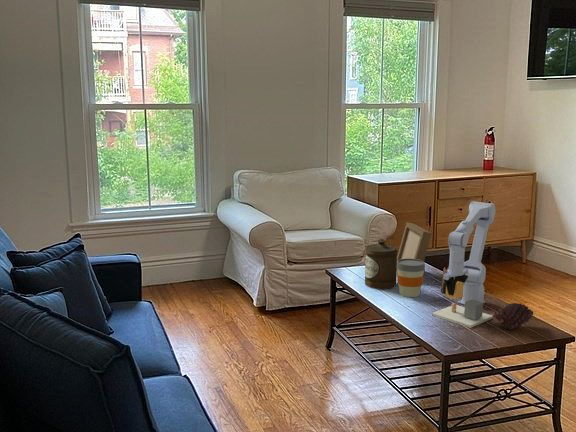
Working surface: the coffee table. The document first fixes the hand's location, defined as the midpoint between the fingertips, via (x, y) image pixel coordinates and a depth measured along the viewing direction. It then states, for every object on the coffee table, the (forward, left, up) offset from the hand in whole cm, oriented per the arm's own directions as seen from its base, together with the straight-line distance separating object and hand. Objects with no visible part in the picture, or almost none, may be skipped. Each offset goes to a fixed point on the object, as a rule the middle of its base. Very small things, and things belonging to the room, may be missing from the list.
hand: (454, 293), depth 249 cm
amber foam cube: (0, 0, -1) cm, 1 cm away
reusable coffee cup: (-7, -28, -9) cm, 30 cm away
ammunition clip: (-24, -17, -9) cm, 31 cm away
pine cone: (-5, +24, -9) cm, 26 cm away
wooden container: (-8, -46, -9) cm, 48 cm away
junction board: (0, +4, -9) cm, 10 cm away
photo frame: (-32, -44, -9) cm, 55 cm away
